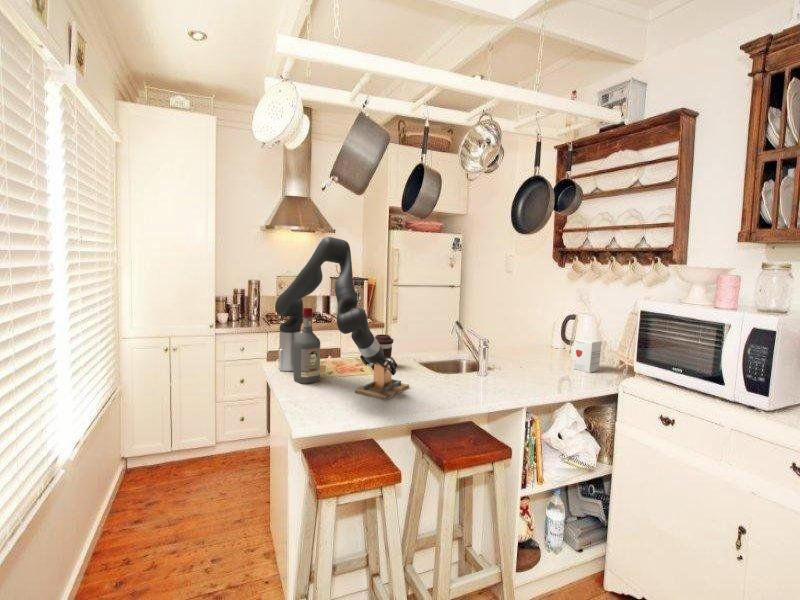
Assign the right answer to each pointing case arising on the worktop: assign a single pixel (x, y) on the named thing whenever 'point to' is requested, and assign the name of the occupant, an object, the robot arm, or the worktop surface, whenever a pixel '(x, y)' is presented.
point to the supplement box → (587, 355)
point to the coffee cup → (385, 344)
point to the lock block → (381, 377)
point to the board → (383, 393)
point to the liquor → (307, 352)
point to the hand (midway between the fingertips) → (385, 371)
